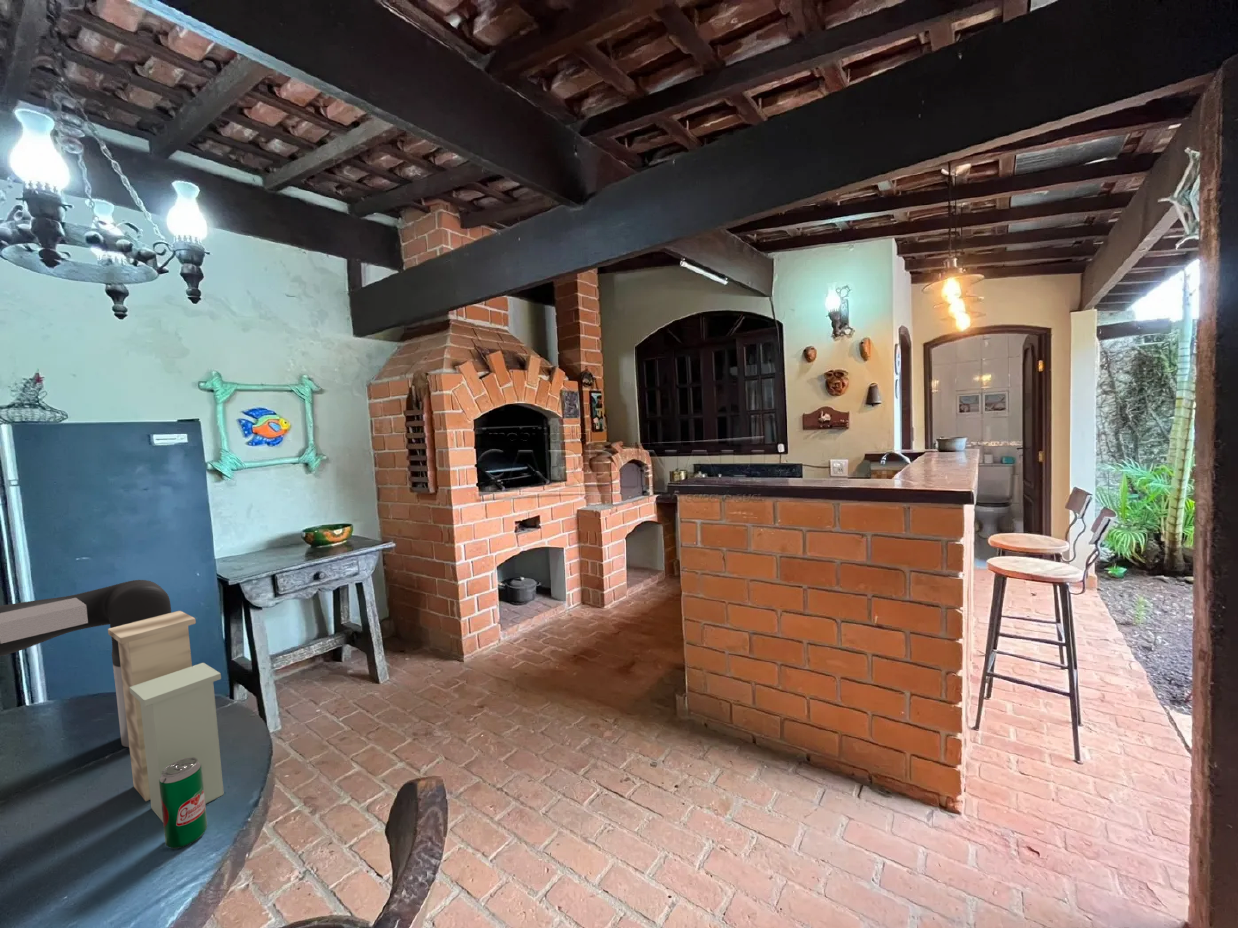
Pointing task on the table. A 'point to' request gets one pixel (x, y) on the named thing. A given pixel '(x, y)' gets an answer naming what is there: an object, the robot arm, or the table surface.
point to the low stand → (181, 726)
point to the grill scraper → (41, 619)
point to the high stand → (149, 672)
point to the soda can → (183, 802)
